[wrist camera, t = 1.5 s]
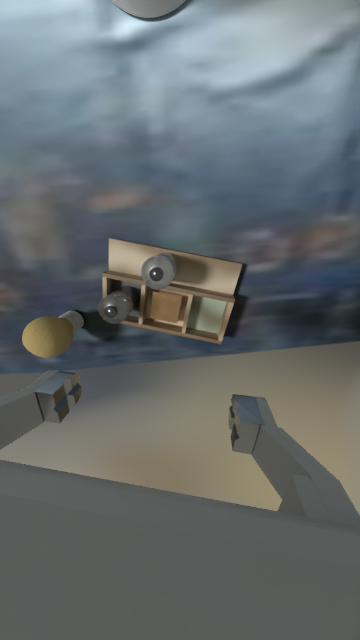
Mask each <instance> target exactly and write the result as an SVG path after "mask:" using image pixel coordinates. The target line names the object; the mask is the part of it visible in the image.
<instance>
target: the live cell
mask: <svg viewBox="0 0 360 640" xmlns="http://www.w3.org/2000/svg"><path fill="white" fill-rule="evenodd" d="M178 271H179V263H178V260H177V258H176V257H175V256H174V255H172V254H170V253H166V252H165V253H161V254H158V255H156V256H153V257H151V258H149V259H147V260H146V261H145V262H144V264H143V265H142V268H141V275H142V279H143V281H144V282H145V284H146V285H147V286H149V287H150V288H152V289H156V290H161V289H164V288H166V287H168V286H169V285H170V283H171V282H172V280H173V279H174V278H175V276H176V275H177V273H178Z"/></svg>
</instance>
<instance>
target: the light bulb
mask: <svg viewBox="0 0 360 640" xmlns="http://www.w3.org/2000/svg"><path fill="white" fill-rule="evenodd" d="M83 325H84V319H83V317H82V316H81V315H80V314H79V313H78V312H76V311H68V312H66V313H65V314H63V315H61V316H59V317H54V316H44V317H40V318H37V319H35V320H33V321H32V322H30V323H29V324H28V325H27V327H26V328H25V330H24V332H23V336H22V341H23V344H24V346H25V347H26V349H27V350H28V351H30V352H31V353H33V354H35V355H37V356H39V357H44V358H49V357H53V356H56V355H59V354H61V353H62V352H64V351H65V350H66V349H67V348H68V347H69V345H70V344H71V341H72V338H73V333H75V332H76V331H77V330H79V329H80V328H81V327H82V326H83Z"/></svg>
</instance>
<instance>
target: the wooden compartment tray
mask: <svg viewBox="0 0 360 640" xmlns="http://www.w3.org/2000/svg"><path fill="white" fill-rule="evenodd" d="M165 252H166V253H170V254H172V255H174V256H175V257H176V258H177V260H178V263H179V271H178V273H177V275H176V276H175V278H174V279H173V280H172V282H171V283H170V285H169V286H168V287H166V288H164V289H161V290H158V291H163V292H168V293H173V294H178V295H183V296H182V301H181V307H180V312H179V318H178V322H177V323H172V322H167V321H163V320H158V319H153V318H150V314H151V305H152V295H153V291H154V290H156V289H152V288H150V287H149V286H147V285H146V284H145V282H144V281H143V279H142V275H141V268H142V265H143V264H144V262H145V261H146V260H147V259H149V258H151V257H153V256H156V255H158V254H161V253H165ZM242 265H243V264H242V263H238V262H233V261H227V260H222V259H217V258H212V257H207V256H202V255H197V254H191V253H186V252H181V251H176V250H171V249H166V248H160V247H155V246H150V245H145V244H140V243H135V242H130V241H124V240H119V239H114V238H109V271H106V272H103V298H105V297H106V296H108V295H110V294H111V293H113V292H114V291H116V290H117V289H119V288H121V287H123V286H130V287H133V288H134V289H135V290H136V291H137V292H138V294H139V296H140V302H139V304H138V306H137V307H136V308H135V309H134V310H133V311H132V312H131V313H130V314H129V315H128V316H127V317H126V318H125V319H124V320H123V321H122V322H121V323H122V324H127V325H132V326H137V327H141V328H146V329H151V330H156V331H160V332H165V333H170V334H175V335H180V336H184V337H189V338H194V339H199V340H203V341H208V342H213V343H218V344H221V342H222V339H223V336H224V333H225V330H226V327H227V324H228V321H229V317H230V314H231V311H232V308H233V305H234V302H235V298H234V296H233V294H234V290H235V287H236V284H237V281H238V277H239V274H240V271H241V268H242ZM103 320H104V319H103Z"/></svg>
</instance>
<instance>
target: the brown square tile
mask: <svg viewBox="0 0 360 640" xmlns="http://www.w3.org/2000/svg"><path fill="white" fill-rule="evenodd" d="M182 296H183V295H178V294H173V293H168V292H163V291H158V290H154V291H153V295H152V305H151V314H150V318H153V319H158V320H163V321H167V322H172V323H177V322H178V318H179V312H180V307H181V301H182Z"/></svg>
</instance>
